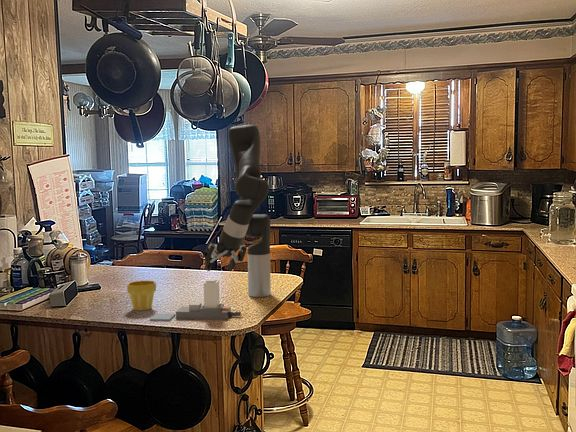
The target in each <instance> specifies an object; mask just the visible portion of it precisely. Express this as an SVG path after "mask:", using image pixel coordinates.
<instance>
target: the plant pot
mask: <svg viewBox="0 0 576 432" xmlns="http://www.w3.org/2000/svg"><path fill="white" fill-rule="evenodd" d="M126 285H127V286H126V287H127V294H129V298H130V301H131V304H132V308H133V310H134V311H148V310H151V309H152V307H153V300H154V295H155V292H156V291H157V282H156V281H154V280H135V281H131V282H128V283H127V284H126Z"/></svg>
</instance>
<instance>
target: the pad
mask: <svg viewBox="0 0 576 432" xmlns="http://www.w3.org/2000/svg"><path fill="white" fill-rule="evenodd" d="M174 317H176V313H155V314H154V315H153V316H151V317H150V318H149V321H150V322H151V321H155V322H160V321H161V322H162V321H163V322H170V321H171V320H172V319H174Z"/></svg>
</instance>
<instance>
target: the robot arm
mask: <svg viewBox="0 0 576 432" xmlns="http://www.w3.org/2000/svg"><path fill="white" fill-rule="evenodd" d="M227 133H228V142H229V147H230V150H231V155H232V160H233V164H234V170H235V177H236V178H235V179H236V182H235V185H234V191H235V193H236V194H237V196H238V197H239V199H238V200H235V201H234V203H233V204H232V206H231V209H230V212H229V214H228V216H227V219H226V220H225V222H224V224H223V225H224V226H223V228H222V230H221V233H220V235H219V239H218V242H217V243H212V242H210V241H209V242H208V244H207V246H206V248H205V251H204V252H203V254H202V256H203V258H204V259H205V262H206V263H205V265H204V267H205V269H206V271H207V272H210V271H211V269H212V267H213V264H214V262H215V261H216V260H219V259H220V258H224V257H227V258H230V257H231V258H230V261H229V263H228V266H227V269H228V271H229V272H232V271H233V270H234V269H235V267H236V265H237V263H238V262H243V260H244V259H245V255H246V254H247V293H248V297H254V298H264V297H268V296H269V297H270V296H271V295H272V291H271V288H272V285H271V218H270V215H268V214H266V213H264V214H263V213H262V214H259V213H255V211H256V210H257V209H258V208H259V206H260V205H261V204H262V203H263V202H264V200H265V199H266V198H267V196H268V194H269V192H270V191H269V190H270V186H269V183H268V182H267V180H265V179H262V177H261V176H262V171H261V163H260V156H261V135H260V130H259V128H258V126H257V125H256V124H244V125H237V126H232V127H230V128H229V129H228V132H227ZM243 152H244V153H243ZM242 153H243V154H242ZM254 213H255V214H254ZM245 236H246V237H249V238H250V237H251V238H258V237H259V238H261V240H260V241H258V242H256V243H254V244H250V245H249V246H246V244H245V243H244V242H243V241H244V238H245ZM236 253H237V254H236Z"/></svg>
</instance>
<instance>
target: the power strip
mask: <svg viewBox="0 0 576 432" xmlns="http://www.w3.org/2000/svg"><path fill="white" fill-rule="evenodd" d="M241 316H242V312H241V311H232V306H225V303H220V307H219V308H204V303H203V305H202V302H194V301H193V302H190V303H189V304H188V306H180V307H179V309H177V310H176V311H175V319H176V320H228V319H229V317H241Z"/></svg>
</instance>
